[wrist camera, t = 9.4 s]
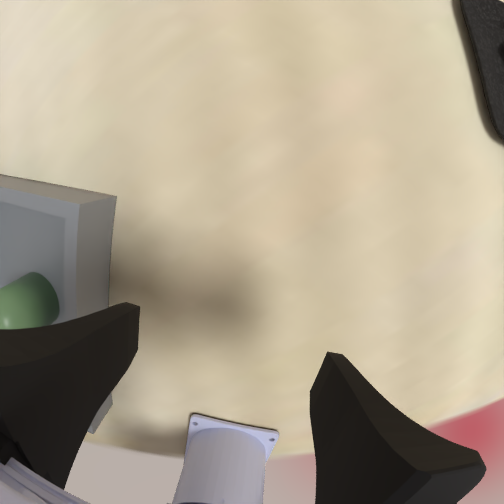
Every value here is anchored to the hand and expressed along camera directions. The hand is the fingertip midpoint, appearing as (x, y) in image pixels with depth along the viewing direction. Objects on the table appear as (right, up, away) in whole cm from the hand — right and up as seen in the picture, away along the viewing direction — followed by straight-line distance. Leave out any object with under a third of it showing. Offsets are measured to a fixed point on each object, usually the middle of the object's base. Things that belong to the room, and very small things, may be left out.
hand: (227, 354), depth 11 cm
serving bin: (-18, 0, +11) cm, 21 cm away
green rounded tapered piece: (-17, 0, +10) cm, 20 cm away
